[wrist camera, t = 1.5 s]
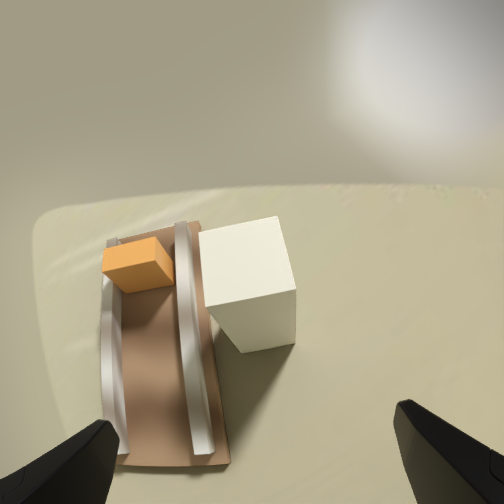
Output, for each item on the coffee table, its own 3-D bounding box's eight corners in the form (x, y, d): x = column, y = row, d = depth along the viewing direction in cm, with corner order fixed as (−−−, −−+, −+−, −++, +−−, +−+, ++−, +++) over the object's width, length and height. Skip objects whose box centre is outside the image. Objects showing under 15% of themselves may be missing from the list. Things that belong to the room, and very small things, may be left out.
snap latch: (174, 284, 24) (155, 260, 20) (126, 293, 24) (101, 271, 21) (173, 262, 25) (155, 236, 21) (126, 272, 25) (104, 248, 22)
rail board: (231, 461, 18) (223, 467, 15) (119, 462, 18) (101, 465, 16) (200, 226, 28) (193, 209, 26) (114, 247, 28) (102, 232, 26)
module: (295, 343, 22) (296, 288, 13) (241, 353, 22) (205, 306, 13) (284, 293, 24) (277, 215, 15) (233, 304, 24) (198, 232, 15)
